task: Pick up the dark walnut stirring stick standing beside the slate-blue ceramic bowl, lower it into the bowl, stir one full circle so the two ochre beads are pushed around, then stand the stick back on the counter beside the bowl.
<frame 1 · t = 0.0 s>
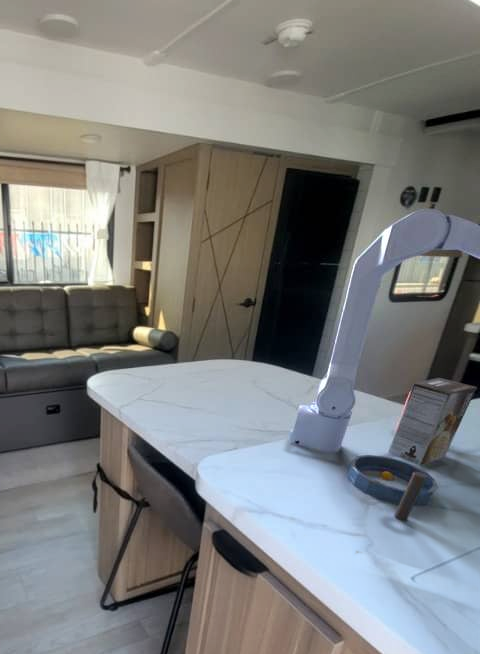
bead a: (386, 476, 72), point 1 cm above the table, touching bowl
beer can: (410, 438, 91), on the table
bead b: (374, 485, 70), point 1 cm above the table, touching bowl
stick: (397, 525, 62), on the table
bowl: (384, 492, 71), on the table
coffee box: (412, 461, 82), on the table
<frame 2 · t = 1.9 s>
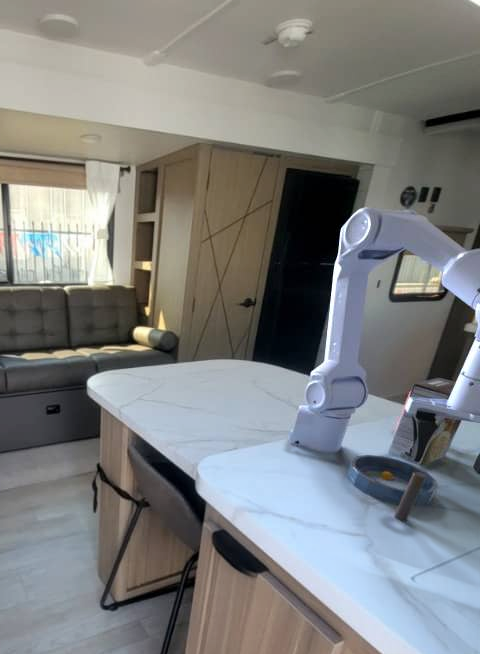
hand: (445, 465, 60), 10 cm above the table, tool pointing down, fingers open, 7 cm apart
nothing on the table moved.
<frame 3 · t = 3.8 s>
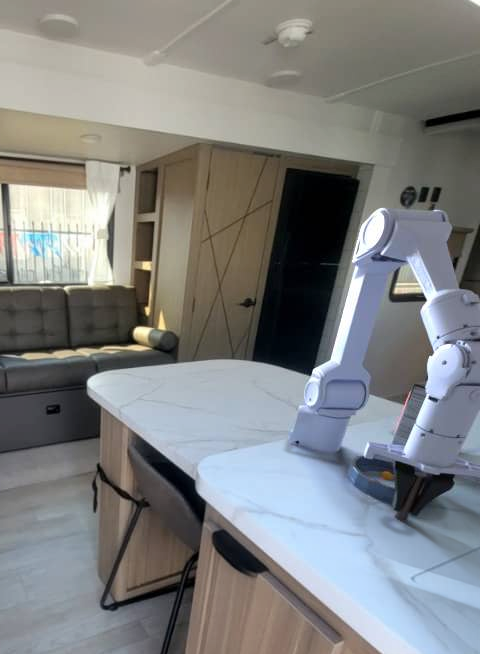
hand: (404, 510, 61), 3 cm above the table, tool pointing down, fingers closed on stick
stick: (397, 525, 62), on the table, touching gripper
everything else where it was.
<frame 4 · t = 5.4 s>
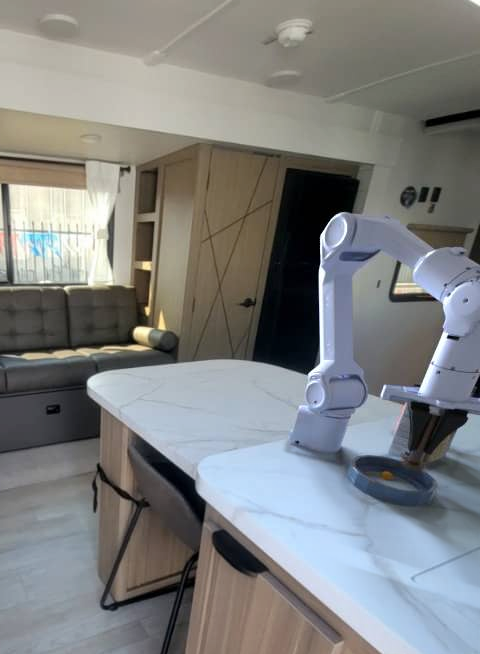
hand: (418, 450, 64), 10 cm above the table, tool pointing down, fingers closed on stick
stick: (411, 466, 65), point 7 cm above the table, touching gripper
everything else where it was.
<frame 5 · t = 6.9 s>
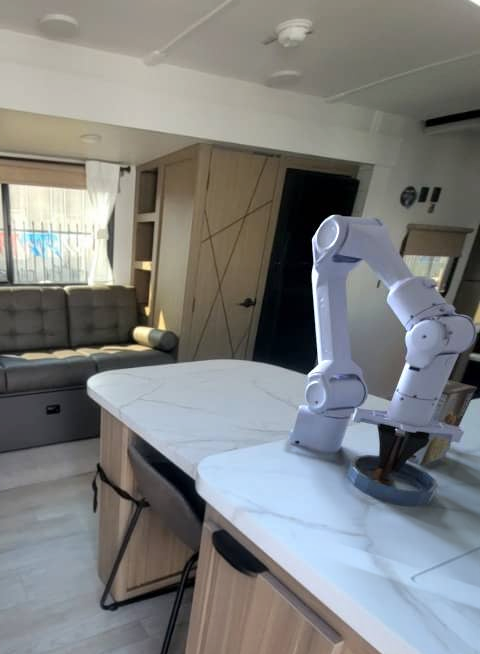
hand: (387, 467, 70), 4 cm above the table, tool pointing down, fingers closed on stick
bead a: (380, 474, 73), point 1 cm above the table, tilted 40°, touching bowl
stick: (382, 482, 71), point 1 cm above the table, touching gripper
everything else where it was.
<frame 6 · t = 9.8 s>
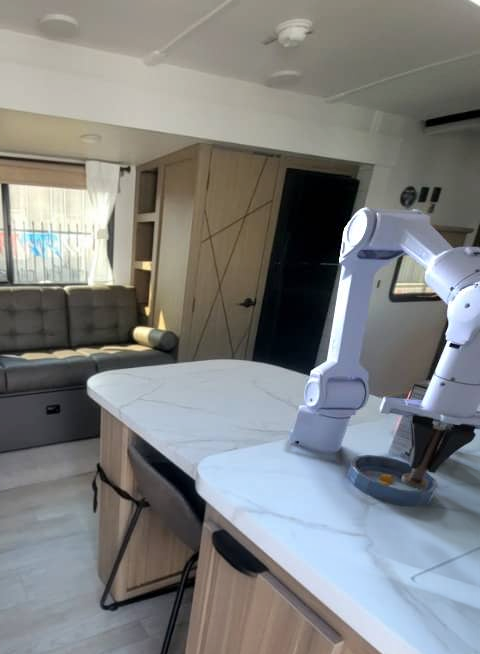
hand: (421, 467, 59), 10 cm above the table, tool pointing down, fingers closed on stick
bead a: (386, 479, 71), point 1 cm above the table, tilted 70°, touching bowl
bead b: (382, 487, 69), point 1 cm above the table, tilted 60°, touching bowl
stick: (413, 483, 60), point 7 cm above the table, touching gripper
everything else where it was.
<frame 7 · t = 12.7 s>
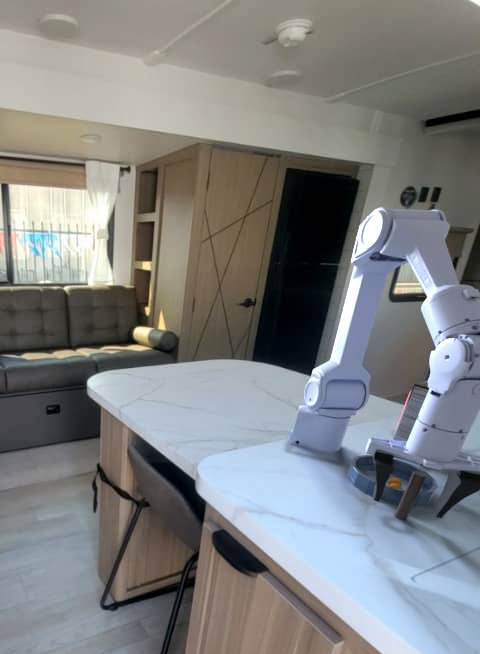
hand: (405, 505, 61), 4 cm above the table, tool pointing down, fingers open, 7 cm apart
bead a: (394, 483, 70), point 1 cm above the table, tilted 129°, touching bowl
bead b: (394, 489, 69), point 1 cm above the table, tilted 158°, touching bowl
stick: (397, 524, 62), on the table
everything else where it was.
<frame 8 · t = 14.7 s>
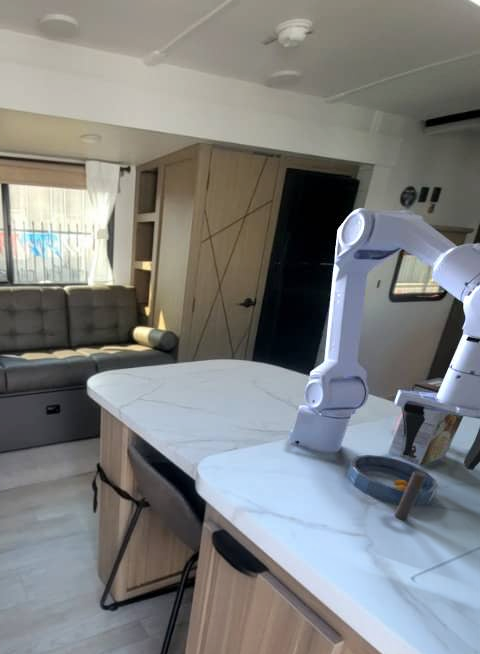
hand: (435, 459, 60), 10 cm above the table, tool pointing down, fingers open, 7 cm apart
bead a: (401, 485, 70), point 1 cm above the table, tilted 112°, touching bowl
bead b: (401, 491, 68), point 1 cm above the table, tilted 136°, touching bowl
everything else where it was.
at the end: bead a moved 2.9 cm from its start; stick 0.2 cm from the target spot, on the table; stick tilted 0° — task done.
